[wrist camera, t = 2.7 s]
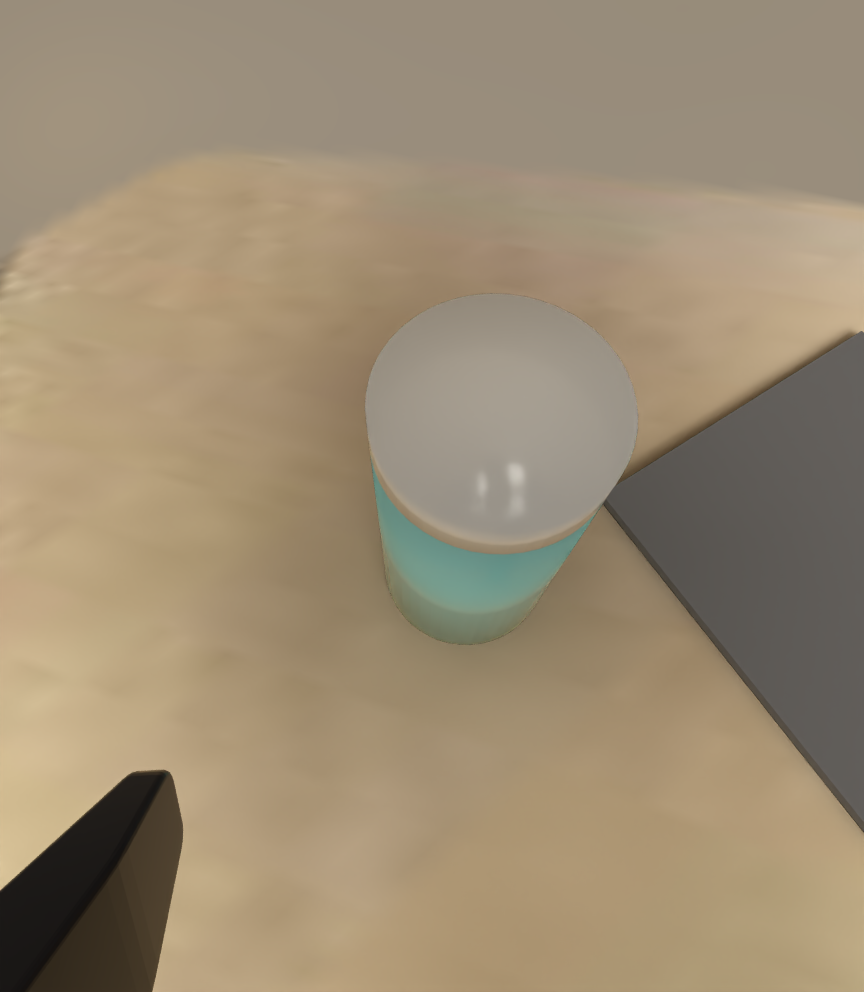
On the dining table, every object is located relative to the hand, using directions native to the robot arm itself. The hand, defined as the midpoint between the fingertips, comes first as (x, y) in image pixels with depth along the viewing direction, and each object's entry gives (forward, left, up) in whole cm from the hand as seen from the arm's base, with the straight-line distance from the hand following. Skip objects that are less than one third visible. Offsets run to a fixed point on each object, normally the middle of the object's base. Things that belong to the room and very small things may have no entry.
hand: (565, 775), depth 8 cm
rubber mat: (+14, -1, -12) cm, 19 cm away
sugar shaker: (+3, +5, -12) cm, 14 cm away
